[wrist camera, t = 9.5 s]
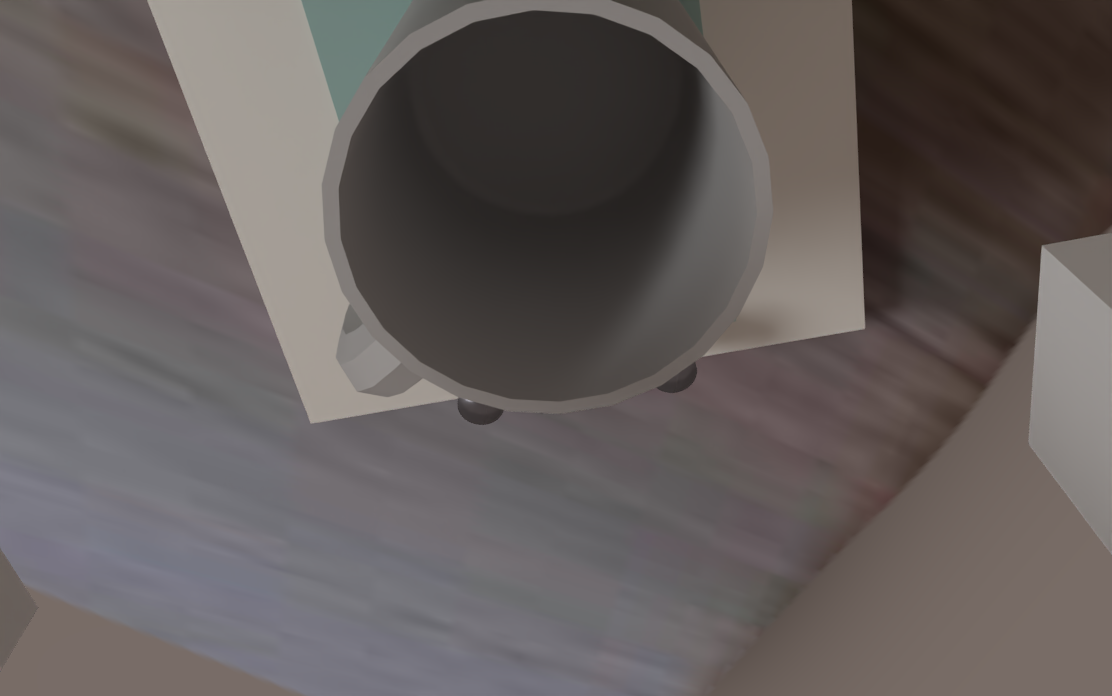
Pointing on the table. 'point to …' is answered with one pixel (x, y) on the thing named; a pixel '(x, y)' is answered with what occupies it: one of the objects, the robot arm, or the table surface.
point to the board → (344, 60)
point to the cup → (542, 203)
